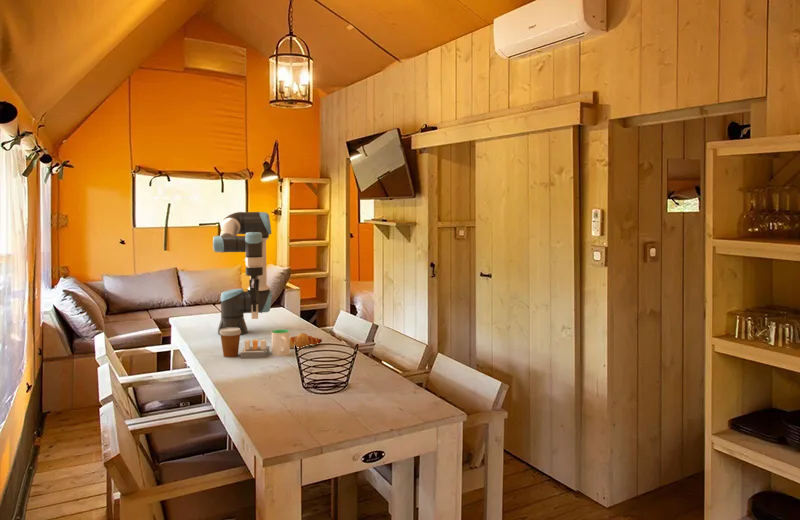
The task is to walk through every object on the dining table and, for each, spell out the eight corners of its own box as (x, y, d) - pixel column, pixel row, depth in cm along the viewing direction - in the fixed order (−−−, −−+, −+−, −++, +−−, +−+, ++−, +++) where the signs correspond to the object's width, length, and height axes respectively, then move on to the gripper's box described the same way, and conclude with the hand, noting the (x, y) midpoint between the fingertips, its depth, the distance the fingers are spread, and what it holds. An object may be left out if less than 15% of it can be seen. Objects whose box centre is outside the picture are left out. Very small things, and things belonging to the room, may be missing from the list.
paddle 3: (261, 348, 270) (261, 339, 270) (265, 348, 271) (265, 339, 270) (260, 349, 268) (260, 341, 267) (265, 349, 268) (265, 341, 267)
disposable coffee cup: (235, 358, 262) (235, 331, 261) (215, 357, 264) (215, 330, 263) (245, 353, 272) (244, 327, 271) (226, 352, 273) (225, 326, 272)
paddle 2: (253, 348, 270) (253, 339, 270) (258, 348, 270) (258, 339, 270) (252, 349, 267) (252, 341, 267) (257, 349, 267) (257, 341, 267)
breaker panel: (245, 352, 274) (245, 346, 274) (269, 351, 275) (269, 345, 275) (240, 358, 262) (240, 352, 262) (266, 358, 264) (266, 351, 263)
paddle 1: (245, 348, 270) (245, 339, 269) (250, 348, 270) (250, 339, 270) (244, 350, 267) (244, 341, 266) (249, 349, 267) (249, 341, 267)
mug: (295, 356, 267) (295, 333, 266) (278, 358, 263) (278, 335, 262) (286, 350, 277) (285, 328, 276) (269, 352, 273) (269, 330, 272)
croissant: (279, 356, 280) (280, 343, 276) (276, 343, 288) (276, 330, 284) (323, 352, 288) (324, 339, 284) (319, 339, 296) (320, 326, 291)
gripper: (247, 265, 272) (248, 316, 274) (243, 267, 259) (244, 321, 261) (264, 265, 272) (265, 315, 274) (260, 267, 259) (261, 321, 261)
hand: (254, 318), depth 267 cm, fingers closed
